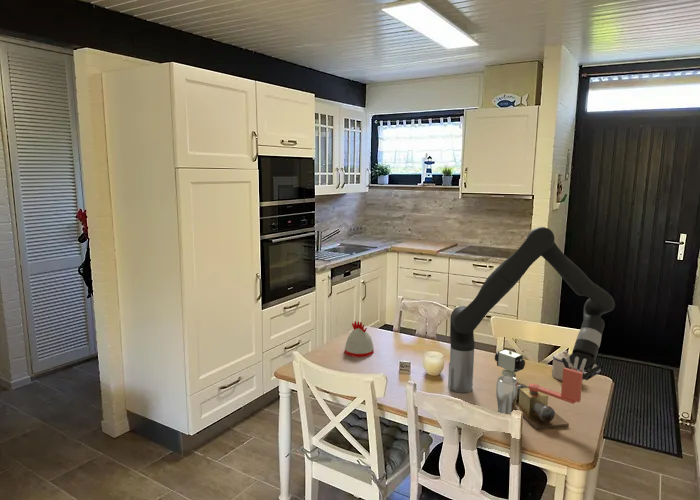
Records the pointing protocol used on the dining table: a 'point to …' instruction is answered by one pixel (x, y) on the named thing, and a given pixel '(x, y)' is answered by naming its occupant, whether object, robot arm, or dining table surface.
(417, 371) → the dining table surface
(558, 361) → the teacup with lid
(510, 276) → the robot arm
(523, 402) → the valve body
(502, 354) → the pneumatic valve
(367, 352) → the grey beanie hat
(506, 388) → the grey vase
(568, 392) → the lever
